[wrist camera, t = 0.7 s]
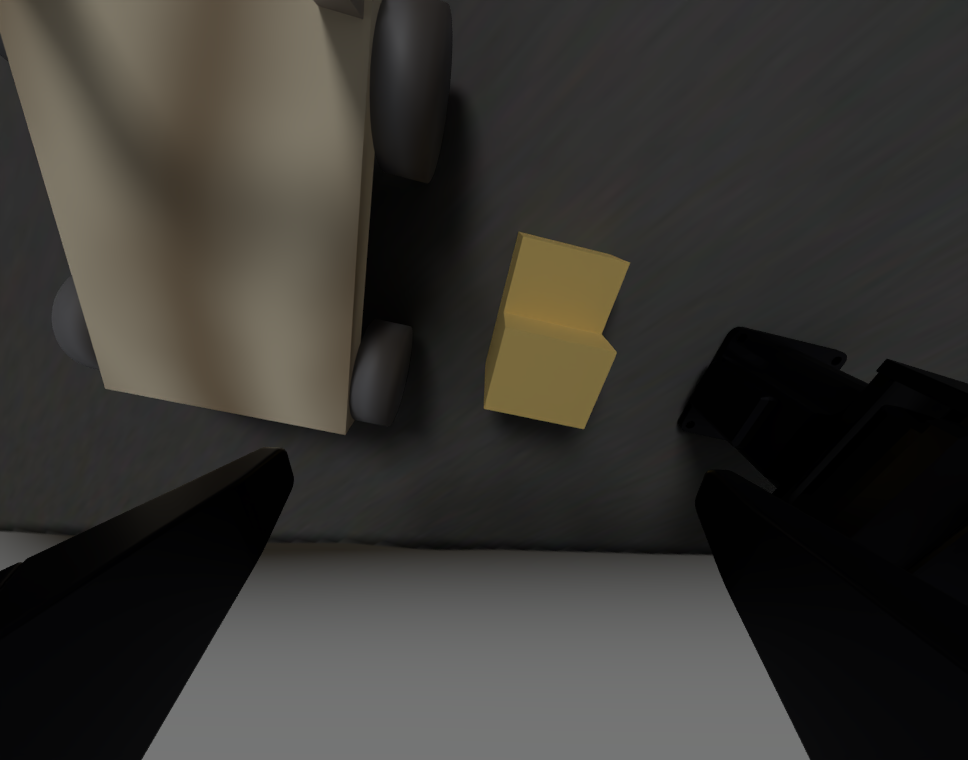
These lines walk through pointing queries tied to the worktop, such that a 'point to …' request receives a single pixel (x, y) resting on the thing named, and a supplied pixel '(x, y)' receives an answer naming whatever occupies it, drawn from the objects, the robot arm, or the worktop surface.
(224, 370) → the trolley
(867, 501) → the robot arm
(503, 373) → the block
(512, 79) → the worktop surface
